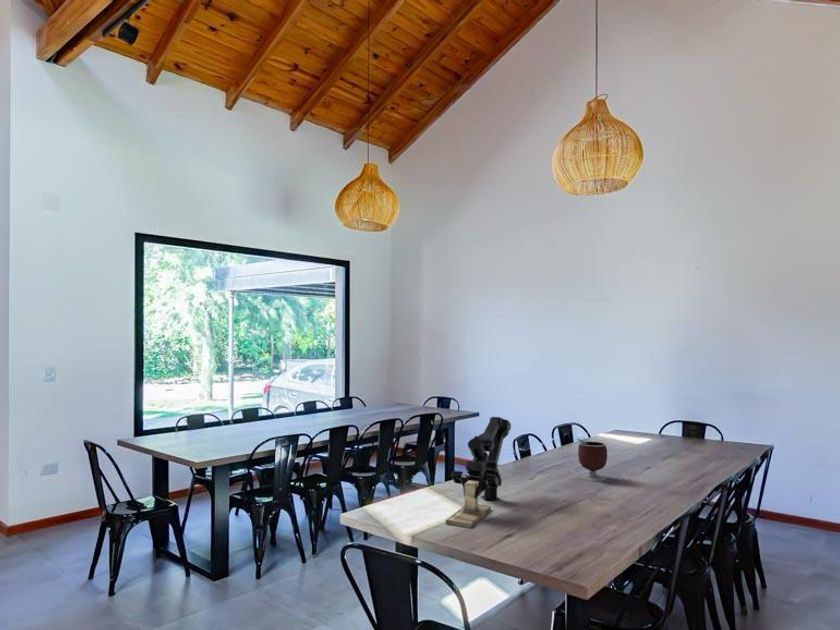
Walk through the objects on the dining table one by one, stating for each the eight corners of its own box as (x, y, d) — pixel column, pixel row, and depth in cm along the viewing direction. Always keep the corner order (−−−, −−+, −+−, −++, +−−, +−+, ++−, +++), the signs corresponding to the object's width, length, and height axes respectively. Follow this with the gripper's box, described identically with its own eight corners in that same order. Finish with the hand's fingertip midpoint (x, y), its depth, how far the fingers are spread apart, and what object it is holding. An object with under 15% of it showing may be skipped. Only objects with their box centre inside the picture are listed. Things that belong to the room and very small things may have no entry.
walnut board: (467, 506, 235) (467, 502, 235) (490, 509, 231) (490, 505, 231) (445, 523, 213) (445, 519, 213) (470, 527, 209) (470, 523, 209)
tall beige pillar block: (467, 508, 228) (467, 480, 228) (479, 509, 225) (479, 481, 226) (463, 511, 223) (462, 483, 224) (475, 513, 221) (474, 484, 221)
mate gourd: (596, 473, 291) (595, 434, 292) (613, 480, 278) (612, 439, 278) (570, 476, 286) (569, 436, 287) (586, 482, 273) (585, 441, 274)
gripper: (452, 450, 233) (442, 484, 222) (496, 454, 225) (487, 489, 214) (459, 466, 239) (450, 499, 229) (502, 470, 232) (494, 504, 221)
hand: (469, 497), depth 223 cm, fingers closed on tall beige pillar block, 4 cm apart
